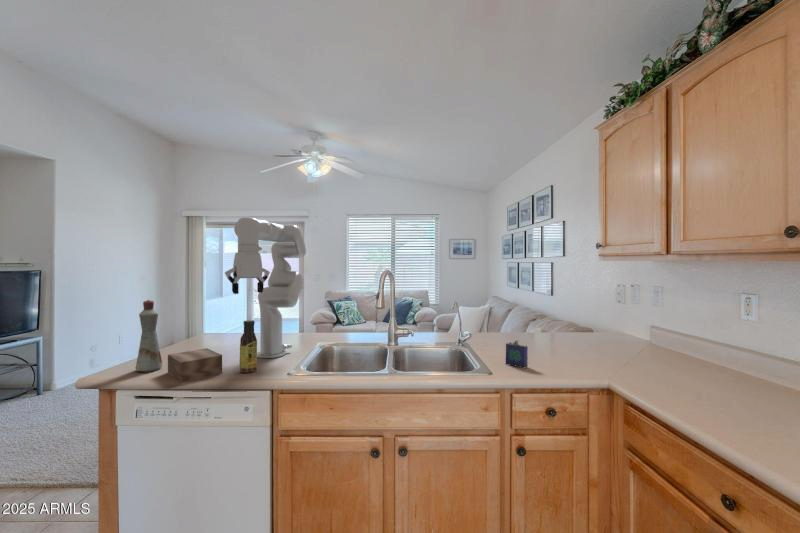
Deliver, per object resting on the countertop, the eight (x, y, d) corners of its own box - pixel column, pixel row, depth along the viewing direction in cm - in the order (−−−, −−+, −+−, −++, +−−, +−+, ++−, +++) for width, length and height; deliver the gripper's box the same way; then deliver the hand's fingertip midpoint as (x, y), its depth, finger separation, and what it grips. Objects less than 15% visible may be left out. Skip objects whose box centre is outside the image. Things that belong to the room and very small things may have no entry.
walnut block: (206, 364, 146) (206, 348, 146) (222, 373, 135) (222, 355, 135) (167, 372, 135) (167, 354, 135) (181, 382, 125) (181, 362, 124)
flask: (528, 367, 144) (528, 341, 144) (525, 368, 142) (525, 342, 142) (506, 363, 150) (506, 338, 150) (504, 364, 148) (504, 339, 148)
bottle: (128, 372, 135) (128, 300, 135) (148, 365, 144) (148, 298, 144) (148, 373, 134) (148, 301, 134) (167, 366, 143) (167, 298, 143)
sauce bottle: (250, 374, 134) (250, 322, 134) (235, 373, 135) (235, 321, 135) (260, 369, 140) (260, 319, 140) (246, 368, 141) (246, 319, 141)
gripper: (264, 250, 146) (264, 291, 146) (221, 249, 133) (221, 293, 133) (273, 250, 141) (273, 292, 141) (229, 248, 128) (229, 294, 128)
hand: (248, 293), depth 137 cm, fingers open, 9 cm apart
